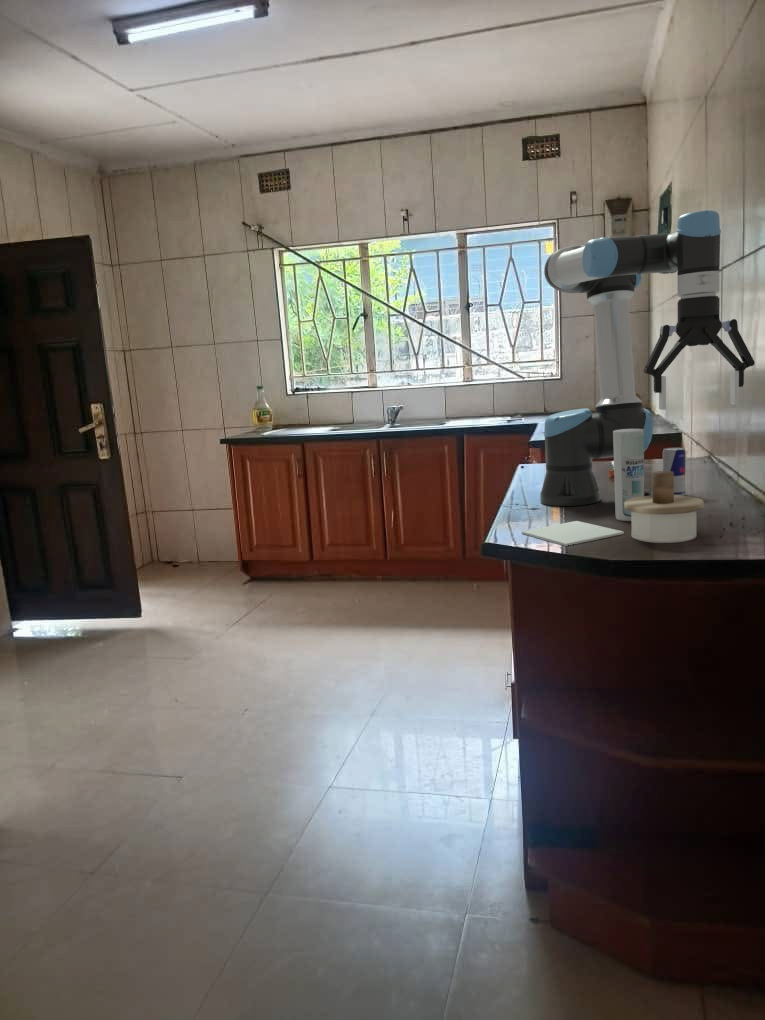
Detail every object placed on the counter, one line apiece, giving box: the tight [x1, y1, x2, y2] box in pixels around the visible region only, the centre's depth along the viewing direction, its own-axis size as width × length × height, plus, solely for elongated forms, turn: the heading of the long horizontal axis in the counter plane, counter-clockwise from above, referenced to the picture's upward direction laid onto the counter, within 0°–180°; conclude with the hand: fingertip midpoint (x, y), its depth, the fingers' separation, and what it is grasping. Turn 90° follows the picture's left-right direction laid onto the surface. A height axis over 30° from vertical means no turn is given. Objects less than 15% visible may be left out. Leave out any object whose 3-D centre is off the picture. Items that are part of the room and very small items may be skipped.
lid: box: [624, 470, 705, 514], centre depth 150 cm, size 15×15×7 cm
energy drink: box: [662, 447, 687, 496], centre depth 190 cm, size 5×5×12 cm
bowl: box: [630, 511, 698, 544], centre depth 152 cm, size 12×12×6 cm
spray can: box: [613, 429, 645, 522], centre depth 168 cm, size 6×6×20 cm
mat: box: [521, 520, 625, 547], centre depth 160 cm, size 15×15×1 cm
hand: (698, 407), depth 149 cm, fingers open, 13 cm apart
